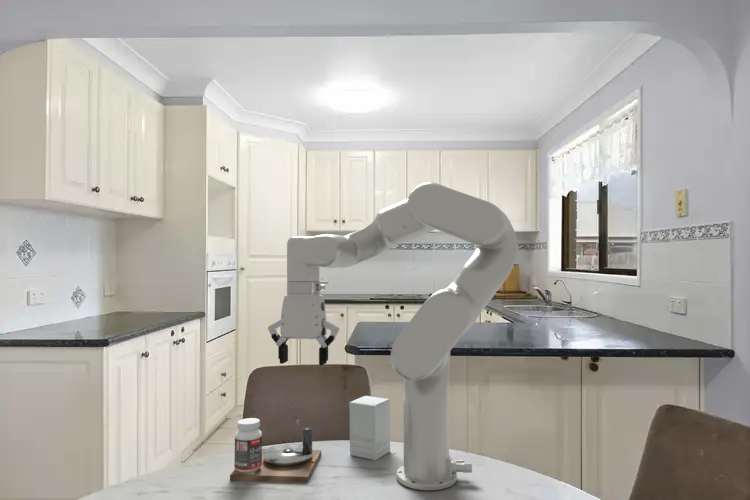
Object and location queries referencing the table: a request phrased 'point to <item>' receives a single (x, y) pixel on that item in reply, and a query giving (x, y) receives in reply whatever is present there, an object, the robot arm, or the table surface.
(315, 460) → the dial board
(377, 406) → the supplement box
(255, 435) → the pill bottle
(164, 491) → the table surface
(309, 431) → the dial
